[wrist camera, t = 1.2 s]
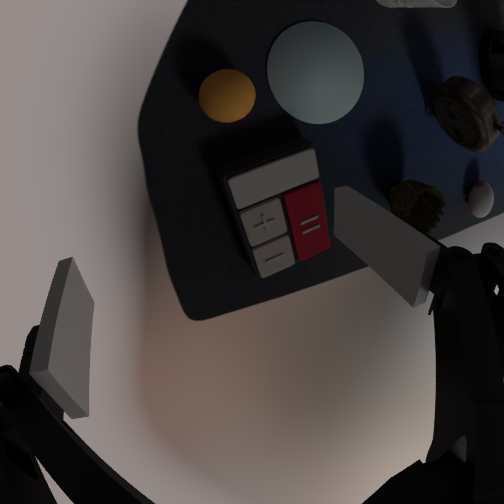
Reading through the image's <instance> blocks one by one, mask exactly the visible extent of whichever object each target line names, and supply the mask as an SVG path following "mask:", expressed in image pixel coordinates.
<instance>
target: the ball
mask: <svg viewBox="0 0 504 504" xmlns="http://www.w3.org/2000/svg"><path fill="white" fill-rule="evenodd" d="M199 102H200V106H201V108H202V109H203V111H204V112H205V113H206V114H207V115H208V116H209V117H210V118H212V119H214V120H216V121H219V122H234V121H237V120H239V119H241V118H243V117H244V116H246V115H247V114H248V113H249V112H250V110H251V109H252V107H253V105H254V102H255V89H254V86H253V84H252V82H251V80H250V79H249V78H248V77H247V76H246V75H244V74H243V73H241V72H239V71H236V70H232V69H223V70H219V71H216V72H214V73H212V74H211V75H209V76H208V77H207V78H206V79H205V80H204V81H203V83H202V85H201V87H200V90H199Z"/></svg>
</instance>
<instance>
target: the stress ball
mask: <svg viewBox="0 0 504 504" xmlns="http://www.w3.org/2000/svg"><path fill="white" fill-rule="evenodd" d="M464 197H468V196H466V195H465V194H464ZM493 201H494V195H493V190H492V188H491V186H490V185H489V184H488V183H487V182H485V181H478V182H476V183H475V184H474V185H473V186H472V188H471V190H470V192H469V197H468V204H469V208H470V211H471V212H472V214H473V215H474V216H476V217H480V218H481V217H484V216H486V215H487V214H488V213H489V212H490V210H491V208H492V206H493Z"/></svg>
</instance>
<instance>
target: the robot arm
mask: <svg viewBox="0 0 504 504" xmlns="http://www.w3.org/2000/svg"><path fill="white" fill-rule="evenodd" d="M480 66H481V72H482V77H483V80H484V83H485V86H486V88H487V90H488V92H489V94H490V95H491V96H492V97H493V98H494V99H496V100H499V101H503V102H504V31H501V30H493V29H490V30H488V31H486V32H485V34H484V35H483V37H482V41H481V45H480ZM334 235H335V236H336V237H337V238H338V239H339V240H340V241H341V242H343V243H344V244H345V245H346V246H347V247H348V248H349V249H351V250H352V251H353V252H354V253H355V254H356V255H357V256H358V257H359V258H361V259H362V260H363V261H364V262H365V263H366V264H367V265H368V266H369V267H371V268H372V269H373V270H374V271H375V272H376V273H377V274H378V275H379V276H380V277H382V278H383V279H384V280H385V281H386V282H387V283H388V284H389V285H390V286H391V287H392V288H393V289H394V290H395V291H396V292H398V293H399V294H400V295H401V296H402V297H403V298H404V299H405V300H406V301H407V302H408V303H409V304H410V305H411V306H412V307H413V308H414V307H416V306H418V305H420V304H421V303H424V302H425V301H426V299H427V295H428V292H429V290H430V291H431V292H432V293H433V294H434V297H433V300H432V303H431V306H430V309H429V313H428V315H431V312H432V311H433V315H434V329H435V350H436V400H435V420H434V434H433V440H432V444H431V446H430V449H429V451H428V454H427V457H426V463H422V462H421V461H420V460H418V461H416V462H415V463H413V464H412V465H410V466H409V467H407V468H406V469H404V470H403V471H401V472H399V473H398V474H396V475H394V476H393V477H391V478H390V479H389V480H388V481H387V482H386V483H385V484H383V485H382V486H381V487H380V488H379V489H378V490H377V491H376V492H375V493H374V494H372V495H371V496H370V497H369V498H368V499H367V500H365V501H364V502H363V503H362V504H504V379H503V378H504V248H503V247H501V246H499V245H498V244H495V243H490V242H489V243H485V244H484V245H483V247H482V251H481V253H479V254H472V253H471V252H470V251H468V250H467V249H465V248H463V247H459V246H452V247H449V248H447V247H446V246H444V245H443V244H442V243H440V242H439V241H437V240H436V239H435V238H433V237H432V236H430V235H427V233H426V232H424V231H423V230H422V231H421V229H420V228H418V227H417V226H415V225H414V224H412V223H409V222H407V221H404V220H401V219H399V218H398V217H396V216H395V215H393V214H392V213H390V212H389V211H387V210H385V209H384V208H382V207H381V206H379V205H378V204H376V203H374V202H373V201H371V200H370V199H368V198H366V197H365V196H363V195H361V194H360V193H358V192H356V191H355V190H353V189H351V188H350V187H348V186H343V187H339V188H335V203H334ZM496 285H498V288H499V292H498V294H497V295H496V294H495V292H494V290H495V287H496ZM93 310H94V301H93V299H92V297H91V295H90V293H89V291H88V289H87V287H86V285H85V282H84V280H83V278H82V276H81V274H80V272H79V270H78V267H77V265H76V263H75V261H74V259H73V257H71V258H67V259H64V260H61V261H59V263H58V266H57V268H56V271H55V274H54V278H53V281H52V284H51V287H50V290H49V293H48V297H47V300H46V304H45V308H44V311H43V314H42V318H41V322H40V325H37V326H33V328H32V329H31V331H30V333H29V334H28V336H27V339H26V342H25V348H24V350H23V356H22V359H21V364H20V368H19V373H18V372H17V371H16V369H15V368H13V367H12V366H11V365H4V366H1V367H0V504H57V502H56V500H55V498H54V496H53V494H52V492H51V490H50V488H49V486H48V484H47V482H46V480H45V478H44V476H43V473H42V471H41V469H40V467H39V464H38V462H37V460H36V458H37V459H38V460H39V461H40V463H41V464H42V466H43V467H44V468H45V470H46V471H47V472H48V473H49V475H50V476H51V477H52V478H53V480H54V481H55V482H56V483H57V485H58V486H59V487H60V488H61V489H62V491H63V492H64V493H65V494H66V495H67V496H68V497H69V499H70V500H71V501H72V502H73V503H74V504H155V503H154V502H152V501H151V500H150V499H148V498H147V497H146V496H145V495H143V494H142V493H141V492H139V491H138V490H137V489H136V488H134V487H133V486H132V485H131V484H129V483H128V482H127V481H126V480H125V479H124V478H122V477H121V476H120V475H119V474H118V473H117V472H116V471H114V470H113V469H112V468H111V467H110V466H109V465H108V464H106V463H105V462H104V461H103V460H102V459H101V458H100V457H99V456H98V455H97V454H96V453H95V452H94V451H93V450H92V449H91V448H90V447H89V446H88V445H87V444H86V443H85V442H84V441H83V440H82V439H81V438H80V437H79V436H78V435H77V434H76V433H75V432H74V431H73V429H72V428H71V427H70V426H69V425H68V424H67V423H66V422H65V421H64V420H63V415H64V412H66V414H67V415H68V416H69V417H70V418H71V419H75V418H82V417H88V416H89V368H90V367H89V366H90V347H91V333H92V321H93ZM35 456H36V457H35Z"/></svg>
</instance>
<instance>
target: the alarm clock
mask: <svg viewBox="0 0 504 504" xmlns="http://www.w3.org/2000/svg"><path fill="white" fill-rule="evenodd" d="M427 82H428V83H430V84H431V85H432V86H433V87H434V88H435V89H436V90H435V92H434V93H433V96H432V107H433V112H427V113H426V115H427V116H435V117H436V118H437V120H438V122H439V124H440V125H441V127H442V128H443V130H444V131H445V132H446V134H447V135H448V136H449V137H450V138H451V139H452V140H453V141H454V142H456V143H457V144H458V145H460V146H461V147H463V148H465V149H467V150H469V151H472V152H482V151H485V150H486V149H487V148H488V147H489V146H490V145H491V144H492V143H493V142H494V141H495V140H496V138H497V137H498V136H499V135H500V133H502V134H503V135H504V126H502V125H503V124H504V122H502V121H501V117H500V114H499V111H498V109H497V107H496V105H495V103H494V101H493V100H492V98H491V97H490V96H489V95H488V93H487V92H486V91H485V90H484V89H483V88H481V87H480V86H479V85H478V84H476V83H475V82H473V81H471V80H469V79H467V78H464V77H460V76H454V77H450V78H449V79H447V81H446V82H445V83H443V84H442V85H441V86H440V87H439V86H438V85H436V84H435V83H433V82H431V80H429V79H428V80H427Z"/></svg>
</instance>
